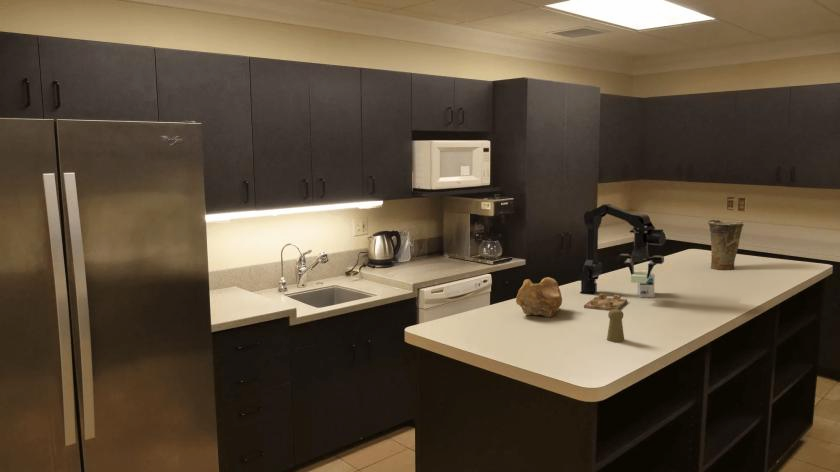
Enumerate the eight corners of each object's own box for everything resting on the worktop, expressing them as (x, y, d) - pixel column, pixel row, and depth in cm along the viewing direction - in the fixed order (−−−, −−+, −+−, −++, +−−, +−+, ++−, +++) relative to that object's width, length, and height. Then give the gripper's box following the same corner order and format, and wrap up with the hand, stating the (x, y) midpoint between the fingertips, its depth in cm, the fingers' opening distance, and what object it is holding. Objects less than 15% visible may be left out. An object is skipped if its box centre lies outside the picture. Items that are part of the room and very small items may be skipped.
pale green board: (631, 282, 275) (631, 275, 274) (635, 277, 285) (635, 270, 285) (645, 283, 272) (645, 276, 272) (649, 278, 283) (649, 271, 282)
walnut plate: (584, 307, 272) (584, 300, 272) (595, 299, 287) (595, 292, 287) (616, 311, 265) (616, 303, 265) (627, 302, 280) (627, 295, 280)
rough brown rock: (541, 325, 251) (545, 288, 248) (509, 314, 263) (512, 279, 260) (575, 315, 266) (578, 281, 264) (543, 306, 278) (546, 273, 276)
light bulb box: (654, 297, 287) (655, 274, 286) (639, 297, 289) (639, 274, 287) (650, 292, 298) (651, 270, 296) (636, 292, 299) (636, 270, 298)
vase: (706, 264, 363) (708, 218, 359) (741, 266, 355) (743, 219, 351) (705, 270, 347) (707, 222, 343) (742, 272, 339) (744, 222, 335)
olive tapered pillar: (604, 337, 228) (604, 308, 226) (620, 337, 228) (620, 307, 227) (610, 342, 222) (610, 312, 221) (627, 341, 222) (627, 311, 221)
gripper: (614, 244, 275) (614, 279, 277) (659, 246, 265) (658, 282, 267) (621, 241, 284) (620, 275, 286) (664, 243, 274) (663, 278, 276)
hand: (640, 277), depth 279 cm, fingers closed on pale green board, 6 cm apart
